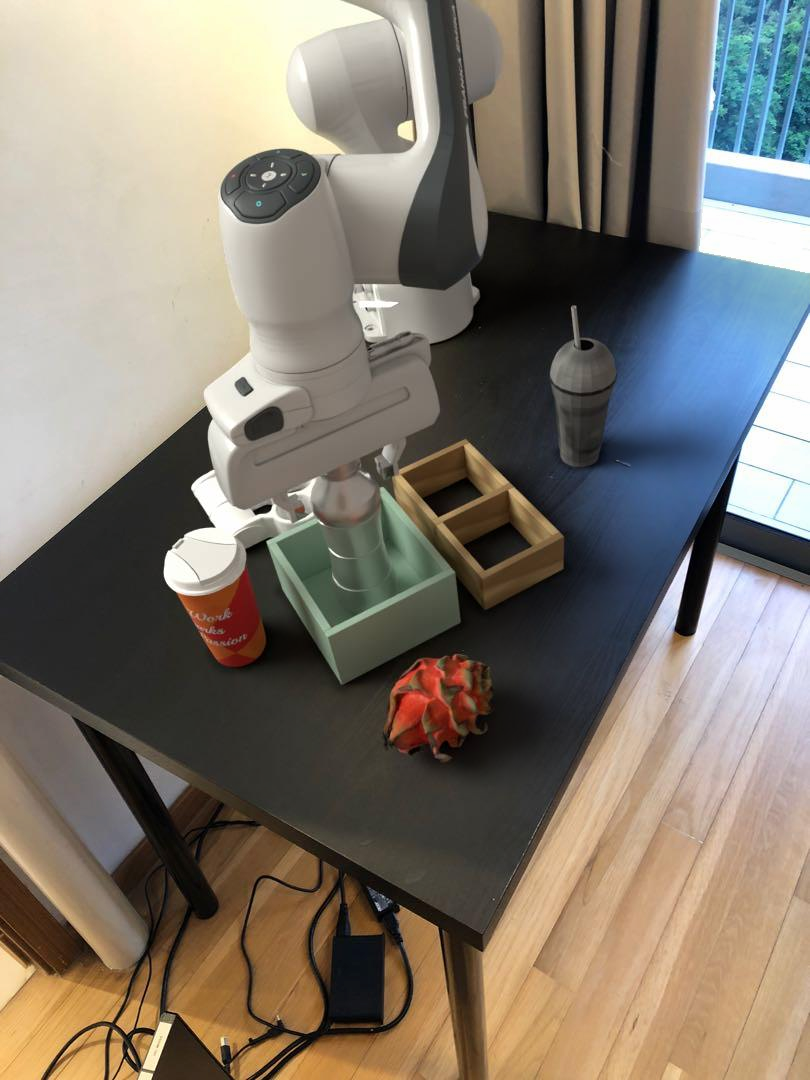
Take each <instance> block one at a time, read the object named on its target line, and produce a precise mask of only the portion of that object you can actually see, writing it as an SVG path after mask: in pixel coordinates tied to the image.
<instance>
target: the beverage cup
mask: <svg viewBox="0 0 810 1080" xmlns="http://www.w3.org/2000/svg"><path fill="white" fill-rule="evenodd" d="M570 310H571V317H572V318H571V319H572V327H573V337H574V339H572V340H570V341H568V342H566V343H565V344H564V345H562V346H561V347H560V348H559V349H558V351H557V352H556V353H555V356H554V358H553V360H552V361H551V362H552V363H551V366H550V371H549V374H548V377H549V378H548V379H549V382H550V387H551V390H552V395H553V396H554V397H553V398H554V409H555V418H556V428H557V441H558V448H559V454H560V459H561V460H562V462H563V463H564V464H566V465H567V466H570V467H573V468H586V467H589V466H591V465H594V464H595V463H596V462H597V461H598V460H599V457H600V452H601V448H602V444H603V439H604V434H605V433H604V432H605V427H606V421H607V416H608V411H609V405H610V399H611V396H612V393H613V389H614V388H615V387H614V386H615V384H616V382H617V378H618V374H617V369H616V362H615V359H614V356H613V354H612V352H611V351H610V350H609V348H608V347H607V346H606V345H605V344H604V343H603V342H601V341H599V340H597V339H595V338H591V337H581V336H580V330H579V329H580V328H579V320H578V312H577V311H578V310H577V306H576V305H572V306H571V307H570Z"/></svg>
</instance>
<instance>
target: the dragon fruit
mask: <svg viewBox="0 0 810 1080" xmlns="http://www.w3.org/2000/svg"><path fill="white" fill-rule="evenodd" d="M390 691H391V692H390V695H389V702H388V704H387V707H386V712H385V714H386V715H388V716H387V719H386V723H385V725H384V727H383V730H382V740H383V744H382V746H383V749H384V751H386V752H388V751H389V748H391V749H392V750H393V747H395V748H397V750H398V752H399V753H401V754H405V755H408V756H409V757H413V756H414V754H418V753H423V752H424V751H425V750H427V749H428V747H423V746H421V745H424V744H429V747H430V750H431V754H432V755H433V757H434V758H435V759H438V760H439V761H440V763H441V764H444V763H446V762H448V761H450V760H452V758H453V756H450V755H448V754H446V753H441V752H440V751H439V750H440V747H441V745H442V744H443V743H444V742H445V741H447V742H448V745H449V747H451V748H460V747H462V746H463V745H462V744H463V743H464V741H465V740H466V737H467V735H468V734H469V733H470V732H471V733H472V734H474V735H482V734H484V733H486V732H487V731H488V724H487V722H485V723H484V729H480V728H479V727H477V725H476V720H477V717H478V716H479V715H483V716H486V715H488V714H490V713H492V712H494V709H495V704H493V703H492V702H490V700H491V699H493V693H494V687H493V681H492V676H491V668H490V666H488V665H486V664H485V663H483V662H481V661H475V660H472V659H470V657H469V656H468V655H466V654H459V653H455V654H453V656H450V655H444V656H443V657H441V658H432V657H422V658H419V659H417V660H416V661H415V662H414V663H413V664H412V665H411V666H410V667H409V668H408V669H407V670H405V671H404V672H403V673H402V674H401V675H400V677H399V678H398V680H397V681H396V682H395V685H394V686H393V688H392V689H391V690H390ZM393 754H395V755H396V753H395V752H394V753H393Z"/></svg>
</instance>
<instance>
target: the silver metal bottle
mask: <svg viewBox="0 0 810 1080" xmlns="http://www.w3.org/2000/svg"><path fill="white" fill-rule="evenodd" d="M380 488H381V487H380V484H379V483H378V481H377V480H376V479H375V477H374V475H372V474H371V473H370V471H367V469H365V468H364V467H362V461H361V457H360V458H358V459H356V460H354V461H352V462H349V463H347V464H345V465H343V466H341V467H338V468H336V469H334V470H332V471H330V472H327V473H325V474H323V475H321V476H319V477H318V478H317V480H316V482H315V484H314V485H313V488H312V490H311V498H310V504H311V508H312V511H313V514H314V515H315V518H316V520H317V522H318V524H319V526H320V528H321V530H322V532H323V534H324V537H325V540H326V543H327V545H328V549H329V552H330V558H331V565H332V587H333V592H334V595H335V596H336V598H337V600H338V602H339V604H340V605H341V606H342V607H343V608H344V609H346V610H347V611H350V612H352V613H355V614H360V613H362V612H364V611H366V610H368V609H370V608H372V607H374V606H376V605H378V604H380V603H382V602H384V601H386V600H388V599H390V598H392V597H394V596H395V594H396V591H397V574H396V571H395V569H394V566H393V564H392V562H391V560H390V558H389V556H388V553H387V550H386V547H385V544H384V541H383V533H382V525H381V494H380Z"/></svg>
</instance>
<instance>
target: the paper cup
mask: <svg viewBox="0 0 810 1080" xmlns="http://www.w3.org/2000/svg"><path fill="white" fill-rule="evenodd" d="M183 536H184V537H183V538H179V539H178V540H177V542H175V543H174V544H173V545H172V549H170V550H168V551H167V553H166V555H165V558H164V566H163V577H164V580H165V582H166V584H167V585H168V587H169V588H170V589H171V590H173V591H174V592H176V594H177V596H178V598H179V600H180V601H181V603H182V605H183V607H184V608H185V610H186V612H187V613H188V616H189V617H190V619H191V621H192V622H193V624H194V626H195V627H196V629H197V631H198V632H199V634H200V636H201V637H202V639H203V641H204V643H205V644H206V646H207V648H208V649H209V650H210V652H211V654H212V655H213V657H214V658H215V659H216V660H217V662H218V663H219V664H221V665H223V666H225V667H230V668H239V667H243V666H247V665H249V664H251V663H253V662H255V661H256V660H257V659H258V658H259V657H260V656H261V655H262V654H263V652H264V650H265V647H266V645H267V636H266V632H265V628H264V623H263V620H262V617H261V612H260V609H259V606H258V602H257V599H256V595H255V591H254V588H253V585H252V580H251V577H250V574H249V570H248V567H247V563H246V562H247V552H246V549H245V548H244V546H243V544H242V543H241V542H240V541H239V540H238V539H236V538H235V537H234V536H233V535H231V534H230V533H229V532H227V531H225V530H222V529H218V528H216V527H205V528H204V527H203V528H198V529H194V530H192V531H189V532H187V533H185V534H184V535H183Z"/></svg>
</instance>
